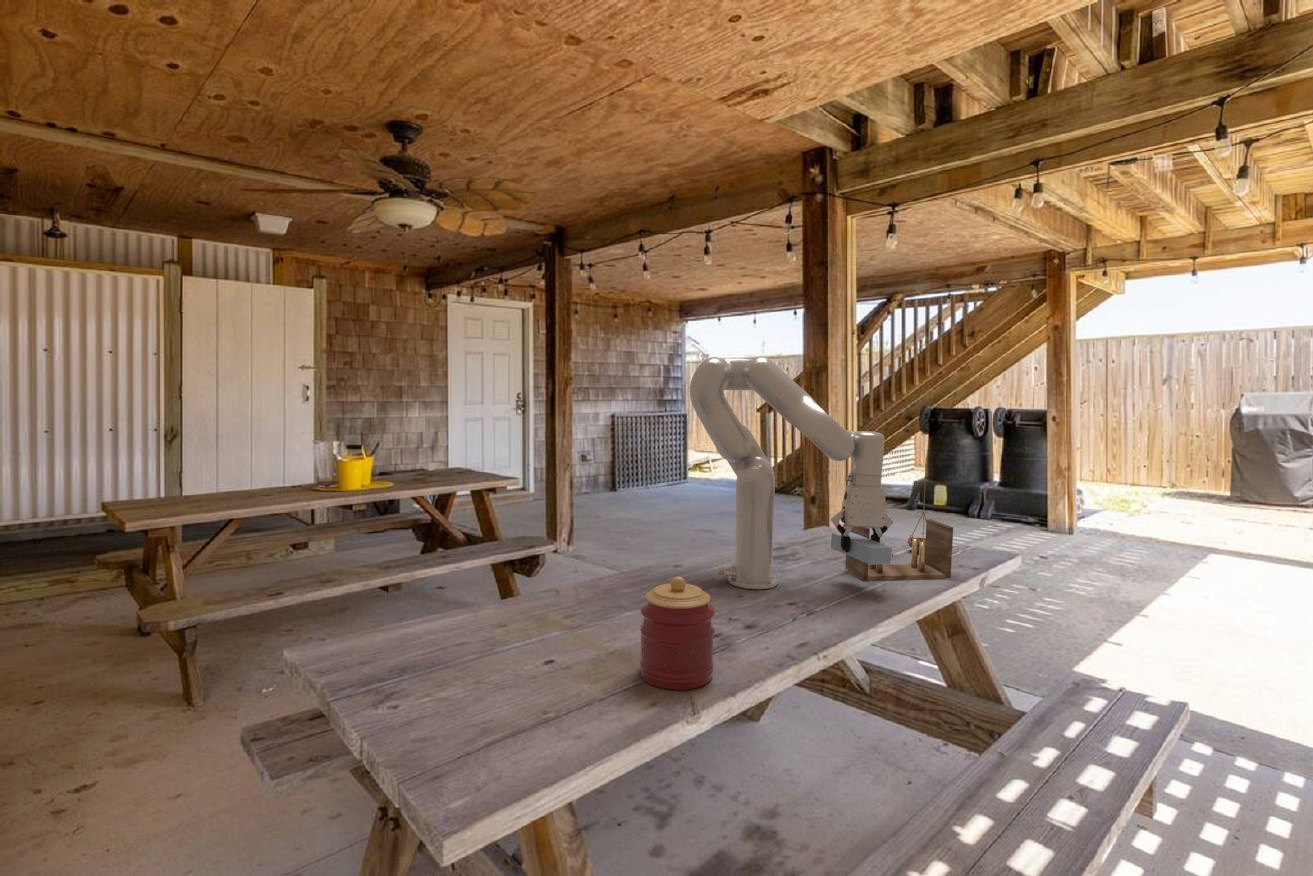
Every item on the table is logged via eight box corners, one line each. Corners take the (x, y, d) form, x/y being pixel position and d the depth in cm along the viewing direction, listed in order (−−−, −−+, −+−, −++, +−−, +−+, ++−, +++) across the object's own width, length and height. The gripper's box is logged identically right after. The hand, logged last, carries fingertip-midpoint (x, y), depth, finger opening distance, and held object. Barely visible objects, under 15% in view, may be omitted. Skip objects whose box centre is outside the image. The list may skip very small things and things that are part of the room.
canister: (676, 699, 112) (678, 592, 111) (624, 674, 121) (625, 575, 120) (728, 676, 121) (731, 578, 120) (676, 655, 130) (677, 563, 129)
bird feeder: (907, 554, 212) (912, 457, 209) (906, 548, 220) (910, 454, 218) (938, 557, 209) (943, 458, 207) (936, 550, 217) (940, 455, 215)
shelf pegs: (878, 573, 185) (879, 543, 185) (869, 567, 191) (870, 539, 190) (925, 572, 187) (927, 543, 186) (915, 566, 193) (916, 538, 192)
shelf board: (890, 563, 167) (891, 547, 167) (869, 564, 165) (871, 548, 165) (849, 547, 182) (851, 532, 182) (830, 547, 180) (831, 532, 179)
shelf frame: (862, 580, 182) (864, 528, 181) (845, 569, 193) (847, 520, 192) (950, 578, 185) (953, 527, 184) (929, 567, 196) (931, 519, 195)
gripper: (838, 482, 167) (832, 554, 168) (905, 484, 169) (899, 555, 171) (826, 477, 174) (820, 546, 176) (891, 479, 177) (885, 548, 178)
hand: (859, 550), depth 173 cm, fingers closed on shelf board, 6 cm apart
